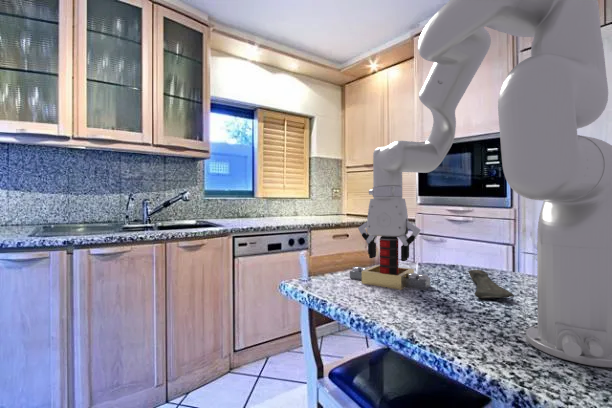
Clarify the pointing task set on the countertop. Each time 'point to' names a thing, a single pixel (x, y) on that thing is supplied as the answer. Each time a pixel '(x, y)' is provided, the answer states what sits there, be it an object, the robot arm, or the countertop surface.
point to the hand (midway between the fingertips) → (388, 258)
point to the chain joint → (391, 278)
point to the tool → (487, 286)
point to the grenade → (389, 255)
